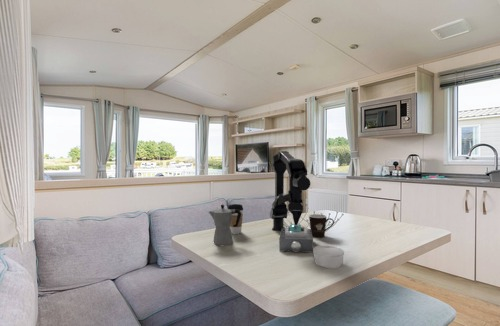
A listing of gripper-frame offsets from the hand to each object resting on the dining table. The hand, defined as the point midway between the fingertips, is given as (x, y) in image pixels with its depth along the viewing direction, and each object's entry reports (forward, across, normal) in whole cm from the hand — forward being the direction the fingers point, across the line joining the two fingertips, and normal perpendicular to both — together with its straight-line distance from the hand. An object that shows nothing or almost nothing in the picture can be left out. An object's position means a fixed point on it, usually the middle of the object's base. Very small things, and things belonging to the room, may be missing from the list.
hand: (296, 222), depth 122 cm
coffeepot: (+11, 0, -33) cm, 35 cm away
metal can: (+10, +1, 0) cm, 10 cm away
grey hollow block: (+10, +1, 0) cm, 11 cm away
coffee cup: (+11, -17, -32) cm, 38 cm away
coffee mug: (+11, -16, +12) cm, 23 cm away
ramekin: (+11, +19, +12) cm, 25 cm away
